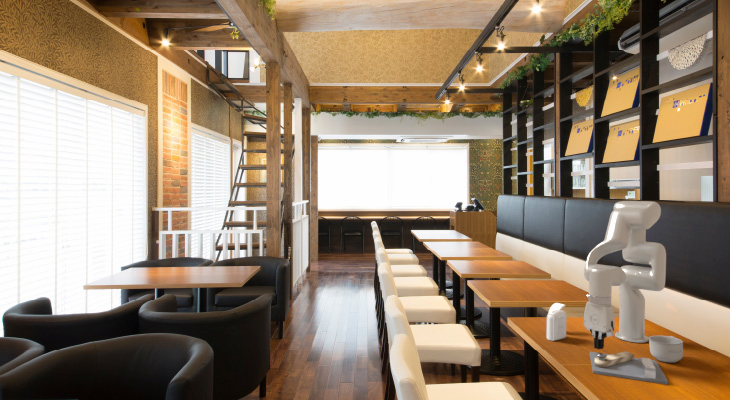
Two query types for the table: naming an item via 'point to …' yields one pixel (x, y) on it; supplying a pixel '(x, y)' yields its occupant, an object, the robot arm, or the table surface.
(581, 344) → the table surface
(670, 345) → the teacup
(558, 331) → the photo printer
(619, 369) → the slate board
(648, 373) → the keeper
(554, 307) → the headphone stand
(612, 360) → the link
